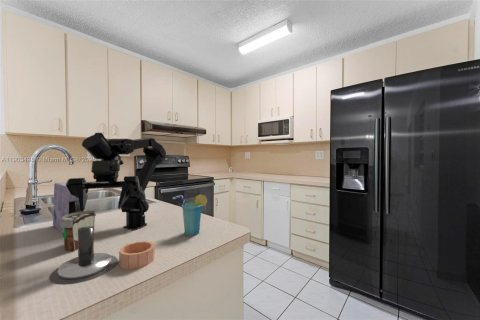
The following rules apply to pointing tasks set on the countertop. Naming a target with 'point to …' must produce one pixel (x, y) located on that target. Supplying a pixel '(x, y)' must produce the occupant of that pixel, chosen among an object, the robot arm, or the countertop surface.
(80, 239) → the steel lid
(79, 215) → the food container
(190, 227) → the cup
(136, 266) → the terracotta bowl
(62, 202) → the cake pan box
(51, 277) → the rubber mat
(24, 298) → the countertop surface
